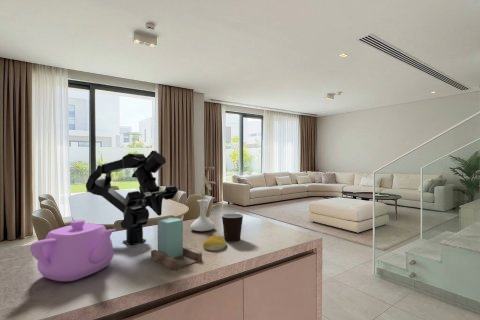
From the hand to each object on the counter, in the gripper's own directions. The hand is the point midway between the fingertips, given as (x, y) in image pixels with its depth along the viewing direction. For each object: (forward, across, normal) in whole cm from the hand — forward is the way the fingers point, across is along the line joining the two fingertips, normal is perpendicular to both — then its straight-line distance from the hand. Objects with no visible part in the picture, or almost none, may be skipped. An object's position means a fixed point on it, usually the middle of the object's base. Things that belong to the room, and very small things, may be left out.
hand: (160, 215), depth 93 cm
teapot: (+8, +26, -8) cm, 28 cm away
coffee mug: (+16, -28, -4) cm, 33 cm away
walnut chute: (+17, 0, 0) cm, 17 cm away
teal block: (+14, 0, -3) cm, 15 cm away
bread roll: (+17, -16, -2) cm, 24 cm away
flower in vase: (+3, -27, -20) cm, 33 cm away
